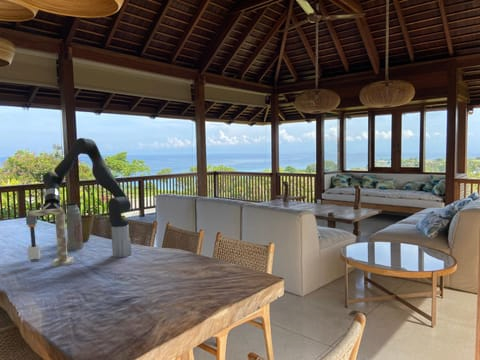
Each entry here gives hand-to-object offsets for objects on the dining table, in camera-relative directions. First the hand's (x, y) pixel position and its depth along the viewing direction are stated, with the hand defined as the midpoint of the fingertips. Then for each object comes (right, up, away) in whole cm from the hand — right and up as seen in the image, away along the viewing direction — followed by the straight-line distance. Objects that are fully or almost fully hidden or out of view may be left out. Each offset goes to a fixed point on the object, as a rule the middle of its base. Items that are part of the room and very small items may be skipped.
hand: (51, 218), depth 181 cm
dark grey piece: (-4, -22, -8) cm, 23 cm away
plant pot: (-1, -20, +39) cm, 43 cm away
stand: (+4, -24, -5) cm, 24 cm away
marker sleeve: (-4, -20, -8) cm, 22 cm away
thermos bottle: (+2, -21, +22) cm, 31 cm away
